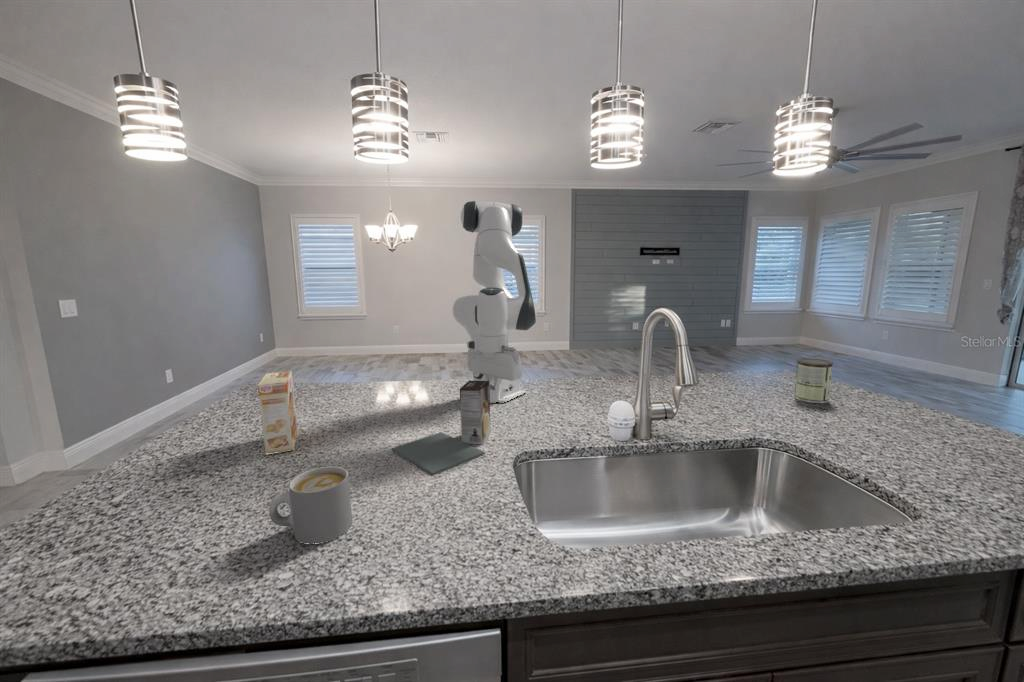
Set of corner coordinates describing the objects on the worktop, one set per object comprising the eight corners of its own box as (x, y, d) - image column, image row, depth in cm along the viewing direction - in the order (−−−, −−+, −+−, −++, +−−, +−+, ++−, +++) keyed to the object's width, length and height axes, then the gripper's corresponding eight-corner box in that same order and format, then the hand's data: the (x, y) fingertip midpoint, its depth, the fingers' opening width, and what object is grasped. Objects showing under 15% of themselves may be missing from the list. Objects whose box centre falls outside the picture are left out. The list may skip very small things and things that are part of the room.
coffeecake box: (294, 451, 113) (287, 382, 110) (264, 456, 110) (255, 385, 107) (299, 432, 126) (292, 370, 123) (272, 436, 124) (265, 372, 121)
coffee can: (790, 394, 157) (794, 357, 155) (823, 396, 153) (827, 359, 151) (798, 401, 147) (802, 363, 145) (833, 404, 144) (837, 365, 141)
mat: (441, 434, 123) (441, 432, 123) (484, 454, 109) (484, 452, 109) (391, 450, 112) (391, 448, 112) (432, 475, 98) (432, 472, 98)
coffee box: (470, 431, 125) (469, 379, 122) (491, 432, 124) (490, 380, 121) (461, 443, 116) (458, 388, 114) (483, 445, 115) (481, 389, 112)
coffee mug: (356, 510, 84) (353, 464, 82) (346, 541, 74) (341, 489, 73) (285, 518, 82) (280, 470, 80) (265, 551, 72) (258, 497, 70)
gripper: (526, 346, 115) (527, 394, 117) (479, 339, 130) (480, 382, 132) (510, 349, 111) (511, 399, 113) (463, 342, 125) (464, 386, 127)
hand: (494, 390), depth 123 cm, fingers closed
